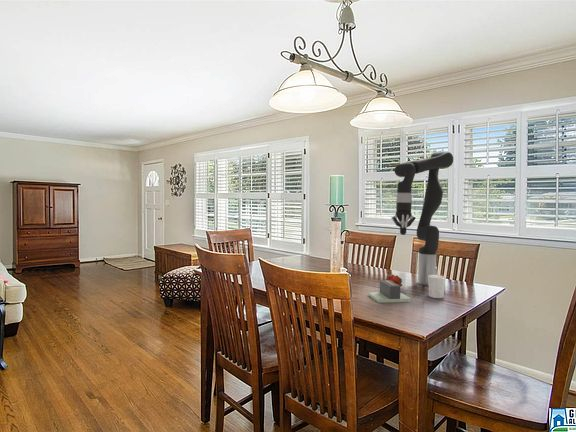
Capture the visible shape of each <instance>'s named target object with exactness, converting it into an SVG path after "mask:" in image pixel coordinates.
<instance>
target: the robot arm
mask: <svg viewBox="0 0 576 432" xmlns="http://www.w3.org/2000/svg"><path fill="white" fill-rule="evenodd" d="M453 163H454V155H453V154H452V152H450V151H435V152H433V153H432V154H431V156H430V157H426V158H420V159H419V158H418V159H416V160H413V161H409V162H408V161H407V162H402V163H397V164H396V165H395V167H394V174H395V175H396V177H399V178H403V180H402V181H399V182H397V189H396V191H397V192H396V209H395V210H396V212H395V215H393V216H391V220H392V222H394V224H395V226H396V227H399V233H400V235H401V236H406V234H407V228H408V227H410V226H411V225H412V224H413V223H414V221H415V220H416V217H415V216H413V214H412V204H413V202H412V201H413V197H412V187H413V185H412V184H413V182H414V179H415V176H416V175H417V174H421V173H424V172H427V171H428V177H427V182H426V183H427V184H426V189H425V193H424V198H423V204H422V210H421V214H420V217H419V221H418V224H417V228H416V238H417V239H418V240H419V241H423V242H424V245H423V246H421V247H419V248H418V264H417V265H418V266H417V267H418V269H417V270H418V273H417V284H419V285H422V286H428V276H429V275H438V267H437V252H438V249H439V242H440V230H439V228H438V227H437V226H436V225H433V224H431V221H432V218H433V216H434V214H435V213H436V212H437V211H438V209H439V208H440V206H441V204H442V199H443V195H444V190H443V186H442V184H441V182H440V180H439V171H440V169H447V168H450V167H451V166H453Z"/></svg>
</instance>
